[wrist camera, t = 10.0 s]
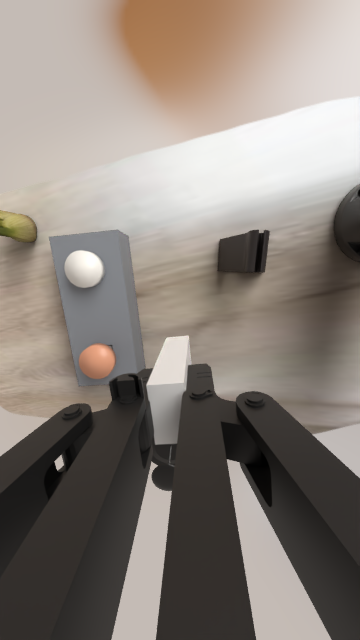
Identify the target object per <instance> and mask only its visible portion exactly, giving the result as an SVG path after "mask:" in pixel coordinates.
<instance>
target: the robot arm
mask: <svg viewBox="0 0 360 640" xmlns="http://www.w3.org/2000/svg"><path fill="white" fill-rule="evenodd" d="M334 233H335V238H336V241H337V244H338V246H339V247H340V249H341V250H342V251H343V253H345V254H346V255H347V256H348V257H350V258H351V259H353V260H355V261H358V262H360V184H359V185H357V186H356V187H355V188H353V189H352V190H351V191H350V192H349V193H348V194H347V195H346V197H345V198H344V199H343V201H342V202H341V204H340V206H339V208H338V211H337V213H336V217H335V222H334ZM109 385H110V391H111V396H112V402H111V403H110V405H109V406H108V408H107V409H105V410H101V411H97V412H93V413H92V411H91V407H90V406H89V405H88V404H75V405H74V404H73V405H70V406H69V407H66V408H64V409H63V410H61V411H59V412H58V413H57V414H55V415H54V416H53V417H51V418H50V419H49V420H48V421H46V422H45V423H44V424H42V425H41V426H40V427H38V428H37V429H36V430H34V431H33V432H32V433H31V434H29V435H28V436H27V437H25V438H24V439H23V440H21V441H20V442H19V443H17V444H16V445H15V446H14V447H12V448H11V449H10V450H9V451H7V452H6V453H4V454H3V455H2V456H0V640H111V638H112V634H113V629H114V625H115V620H116V616H117V612H118V607H119V603H120V598H121V594H122V589H123V585H124V581H125V576H126V571H127V567H128V563H129V558H130V554H131V549H132V545H133V540H134V536H135V532H136V527H137V523H138V518H139V514H140V510H141V505H142V501H143V496H144V492H145V487H146V483H147V478H148V474H149V470H150V465H151V461H152V456H153V448H152V439H153V435H154V439H155V445H158V444H177V449H176V458H175V467H174V477H173V486H172V495H171V505H170V514H169V523H168V533H167V542H166V551H165V561H164V570H163V579H162V588H161V598H160V607H159V616H158V625H157V635H156V640H256V636H255V631H254V624H253V618H252V612H251V605H250V599H249V594H248V587H247V581H246V576H245V569H244V563H243V556H242V550H241V545H240V539H239V532H238V526H237V520H236V514H235V508H234V501H233V495H232V490H231V484H230V477H229V471H228V465H227V459H229V460H233V461H237V462H240V466H241V468H242V471H243V473H244V474H245V476H246V478H247V480H248V482H249V484H250V486H251V488H252V490H253V491H254V493H255V495H256V497H257V499H258V501H259V503H260V505H261V507H262V509H263V510H264V512H265V514H266V516H267V518H268V520H269V522H270V524H271V525H272V527H273V529H274V531H275V533H276V535H277V537H278V538H279V541H280V542H281V545H282V546H283V548H284V550H285V552H286V554H287V556H288V558H289V560H290V561H291V563H292V565H293V567H294V569H295V571H296V573H297V575H298V577H299V579H300V580H301V582H302V584H303V586H304V588H305V590H306V592H307V594H308V596H309V598H310V599H311V601H312V603H313V605H314V607H315V609H316V611H317V613H318V614H319V617H320V618H321V620H322V622H323V624H324V626H325V628H326V630H327V632H328V634H329V635H330V637H331V639H332V640H360V478H359V477H358V476H356V475H355V474H354V473H353V472H352V471H351V470H350V469H349V468H348V467H347V466H345V464H343V463H342V462H341V461H340V460H339V459H338V458H337V457H336V456H335V455H334V454H333V453H331V452H330V451H329V450H328V449H327V448H326V447H325V446H324V445H323V444H322V443H321V442H319V441H318V440H317V439H316V438H315V437H314V436H313V435H312V434H311V433H310V432H309V431H308V430H306V429H305V428H304V427H303V426H302V425H301V424H300V423H299V422H298V421H297V420H296V419H295V418H293V417H292V416H291V415H290V414H289V413H288V412H287V411H286V410H285V409H284V408H283V407H281V406H280V405H279V404H278V403H277V402H276V401H275V400H274V399H273V398H272V397H270V396H268V395H267V394H264V393H261V392H255V391H251V392H245V393H242V394H240V395H239V396H238V397H237V398H236V402H233V401H227V400H224V399H221V398H220V397H218V396H217V395H216V393H215V391H214V385H213V378H212V372H211V367H210V366H208V365H207V364H195V365H192V363H191V354H190V344H189V336H178V337H167V338H166V340H165V342H164V345H163V347H162V349H161V352H160V354H159V357H158V359H157V361H156V364H155V366H154V368H152V369H142V370H141V371H140V372H138V373H137V374H136V373H127V374H122V375H119V376H116V377H115V378H113V379H111V380H110V381H109ZM61 454H62V458H63V462H64V466H63V467H62V468H61V469H59V470H58V471H57V469H56V466H55V462H54V461H55V460H56V459H57V458H58V457H59V456H60V455H61Z"/></svg>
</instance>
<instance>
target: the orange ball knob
mask: <svg viewBox="0 0 360 640" xmlns="http://www.w3.org/2000/svg"><path fill="white" fill-rule="evenodd" d="M115 365H116V355H115V353H114V351H113V346H112V345H106V344H102V343H95V344H92V345H90V346H89V347H88V348H86V349H85V350H84V351H83V352H82V353H81V354H80V357H79V366H80V369H81V370H82V372H83V373H84V374H85V375H87V376H88V377H90V378H93V379H102V378H104V377H106V376H108V375H109V374H110V372H111V371H112V370H113V368H114V367H115Z"/></svg>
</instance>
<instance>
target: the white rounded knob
mask: <svg viewBox="0 0 360 640" xmlns="http://www.w3.org/2000/svg"><path fill="white" fill-rule="evenodd" d="M64 269H65V274H66V276H67V278H68V280H69V281H70V282H71V283H72V284H74V285H75V286H78V287H81V288H87V287H93V286H96V285H98V284H99V283H100V282H101V281H102V279H103V277H104V274H105V267H104V264H103V262H102V260H101V259H100V257H99V256H97V255H96V254H94V253H92V252H88V251H82V250H79V251H75V252H73V253H71V254H70V255H69V256H68V257H67V259H66V261H65V266H64Z"/></svg>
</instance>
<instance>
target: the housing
mask: <svg viewBox="0 0 360 640" xmlns="http://www.w3.org/2000/svg"><path fill="white" fill-rule="evenodd" d="M49 240H50V245H51V250H52V255H53V260H54V265H55V270H56V275H57V280H58V285H59V290H60V295H61V300H62V305H63V310H64V315H65V320H66V325H67V330H68V335H69V340H70V345H71V350H72V355H73V360H74V365H75V370H76V375H77V380H78V385H79V386H90V385H105V384H109V381H110V380H111V379H113V378H115V377H116V376H119V375H122V374H127V373H136V374H137V373H138V372H140V371H141V370H142V369H145V359H144V352H143V344H142V336H141V329H140V321H139V314H138V306H137V298H136V291H135V283H134V276H133V268H132V260H131V253H130V245H129V238H128V235H126V234H124V233H122V232H120V231H119V230H110V231H101V232H91V233H82V234H73V235H63V236H54V237H49ZM79 250H82V251H88V252H92V253H94V254H96V255H97V256H99V257H100V259H101V260H102V262H103V264H104V267H105V274H104V277H103V279H102V281H101V282H100V283H99V284H98V285H96V286H93V287H87V288H81V287H78V286H75V285H74V284H72V283H71V282H70V281H69V280H68V278H67V276H66V274H65V269H64V266H65V261H66V259H67V257H68V256H69V255H70V254H71V253H73V252H75V251H79ZM95 343H102V344H106V345H112V346H113V351H114V353H115V355H116V365H115V367H114V368H113V370H112V371H111V372H110V374H109V375H108V376H106V377H104V378H102V379H93V378H90V377H88V376H87V375H85V374H84V373H83V372H82V370H81V369H80V366H79V357H80V354H81V353H82V352H83V351H84V350H85V349H86V348H88V347H89V346H90V345H92V344H95Z"/></svg>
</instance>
